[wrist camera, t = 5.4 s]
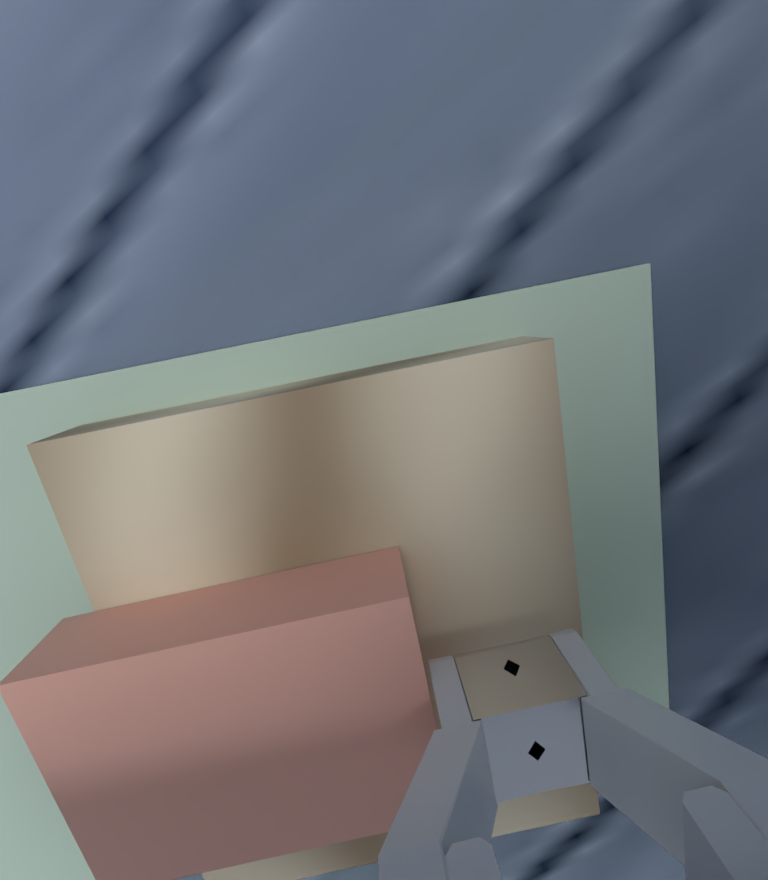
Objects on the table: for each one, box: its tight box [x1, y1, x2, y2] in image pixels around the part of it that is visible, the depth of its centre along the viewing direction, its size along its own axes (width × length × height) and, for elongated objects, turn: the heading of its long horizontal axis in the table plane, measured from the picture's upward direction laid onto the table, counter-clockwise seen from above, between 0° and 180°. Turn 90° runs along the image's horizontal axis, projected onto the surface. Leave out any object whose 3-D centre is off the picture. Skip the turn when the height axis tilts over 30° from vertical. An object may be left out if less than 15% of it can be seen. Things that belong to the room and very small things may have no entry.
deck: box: [26, 336, 600, 880], centre depth 11 cm, size 10×12×2 cm
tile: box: [0, 546, 438, 880], centre depth 9 cm, size 7×5×2 cm
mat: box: [0, 263, 669, 880], centre depth 12 cm, size 22×14×1 cm, turn 101°
